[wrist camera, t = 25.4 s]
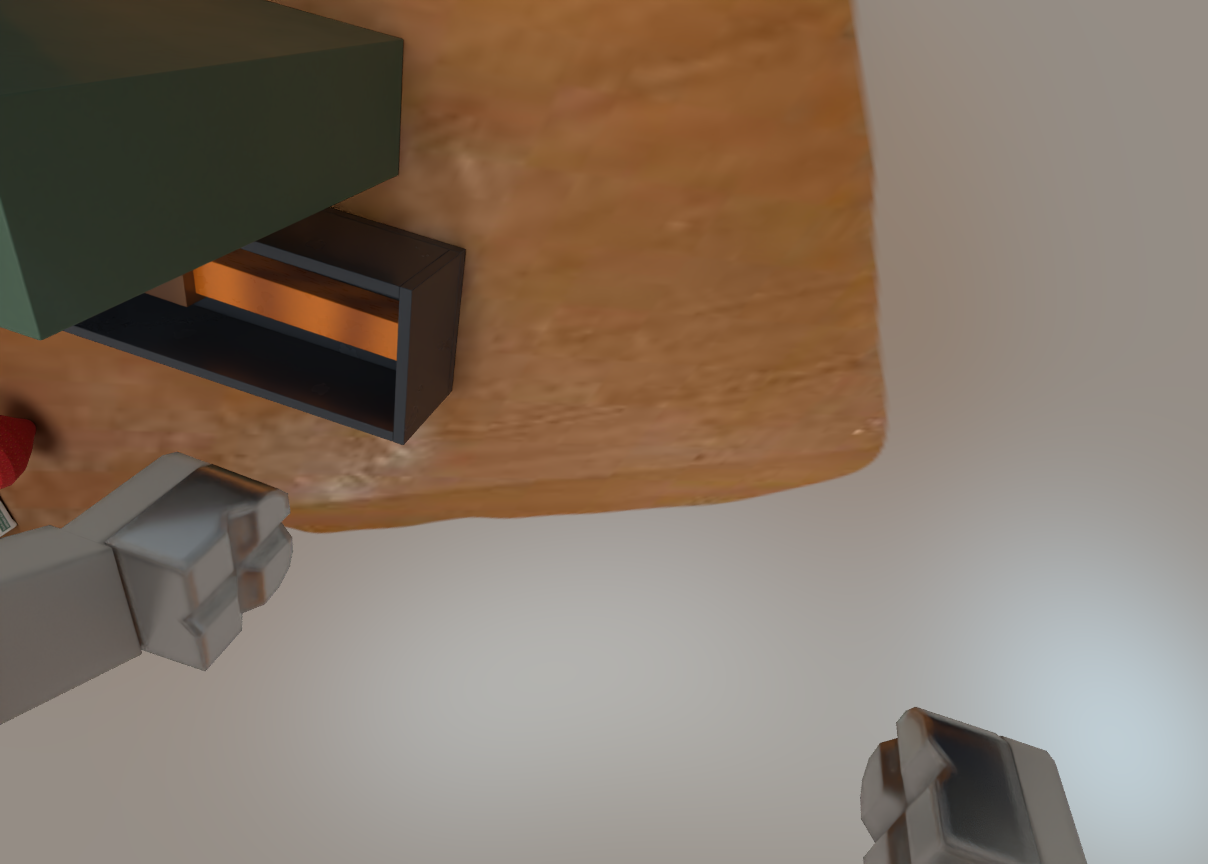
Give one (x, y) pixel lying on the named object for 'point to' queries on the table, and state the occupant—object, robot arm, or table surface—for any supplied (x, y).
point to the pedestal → (173, 140)
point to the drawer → (305, 359)
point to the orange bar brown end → (292, 299)
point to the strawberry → (14, 447)
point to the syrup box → (5, 520)
